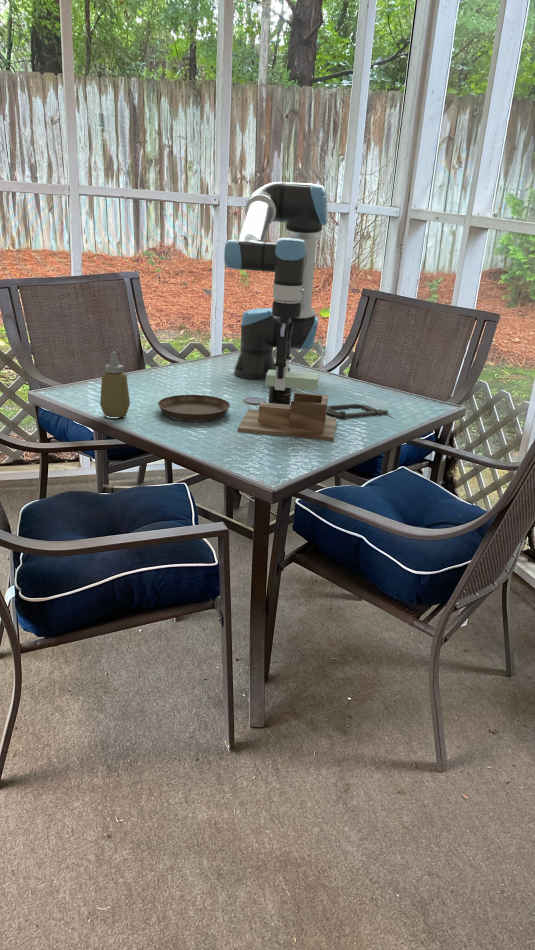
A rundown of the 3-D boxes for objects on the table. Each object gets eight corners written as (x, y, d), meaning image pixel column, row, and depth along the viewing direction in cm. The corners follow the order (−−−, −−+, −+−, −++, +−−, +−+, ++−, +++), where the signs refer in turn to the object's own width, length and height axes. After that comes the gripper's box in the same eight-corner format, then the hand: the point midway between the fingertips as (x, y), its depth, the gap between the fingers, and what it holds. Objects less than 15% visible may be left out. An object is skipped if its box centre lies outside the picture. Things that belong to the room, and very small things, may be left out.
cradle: (248, 412, 196) (249, 384, 193) (336, 421, 194) (339, 392, 191) (237, 431, 180) (239, 400, 177) (333, 440, 177) (336, 410, 174)
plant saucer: (152, 405, 198) (152, 394, 197) (219, 402, 205) (220, 392, 204) (164, 426, 180) (164, 415, 179) (238, 423, 187) (238, 412, 186)
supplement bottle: (288, 410, 201) (291, 371, 197) (266, 407, 202) (268, 368, 198) (291, 404, 207) (294, 366, 203) (270, 401, 208) (273, 363, 204)
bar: (268, 380, 186) (269, 369, 185) (318, 384, 185) (319, 374, 184) (265, 385, 181) (266, 374, 180) (316, 390, 179) (317, 379, 178)
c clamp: (371, 406, 213) (372, 398, 212) (400, 422, 199) (401, 413, 198) (314, 409, 206) (315, 400, 205) (340, 426, 191) (341, 417, 190)
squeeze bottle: (117, 422, 180) (115, 357, 173) (94, 416, 184) (91, 352, 177) (136, 415, 187) (135, 352, 180) (114, 410, 190) (112, 347, 184)
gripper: (297, 307, 165) (291, 397, 174) (304, 296, 182) (297, 378, 192) (267, 305, 166) (262, 394, 175) (277, 294, 183) (272, 376, 192)
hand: (281, 386), depth 183 cm, fingers closed on bar, 6 cm apart
